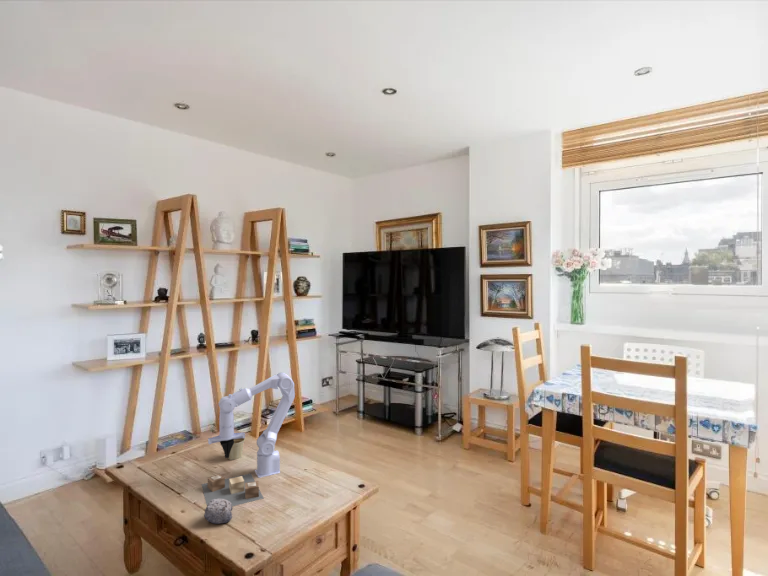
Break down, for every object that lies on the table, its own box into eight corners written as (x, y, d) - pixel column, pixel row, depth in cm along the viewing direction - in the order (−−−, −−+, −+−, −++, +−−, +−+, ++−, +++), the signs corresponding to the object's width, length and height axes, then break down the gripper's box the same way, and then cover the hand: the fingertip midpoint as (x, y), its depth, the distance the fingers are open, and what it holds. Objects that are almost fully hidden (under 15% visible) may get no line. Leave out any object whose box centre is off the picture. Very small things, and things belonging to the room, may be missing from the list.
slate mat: (250, 474, 184) (250, 473, 184) (263, 499, 163) (263, 498, 163) (201, 485, 174) (201, 484, 174) (208, 513, 154) (208, 512, 154)
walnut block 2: (258, 490, 169) (258, 480, 169) (258, 496, 164) (258, 486, 164) (245, 492, 167) (245, 482, 167) (245, 499, 163) (245, 488, 163)
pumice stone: (238, 523, 151) (220, 508, 156) (242, 504, 150) (225, 489, 155) (214, 537, 143) (196, 521, 147) (218, 517, 141) (200, 501, 146)
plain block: (241, 485, 173) (241, 476, 173) (244, 490, 169) (244, 481, 169) (229, 488, 171) (229, 478, 171) (231, 494, 166) (231, 484, 166)
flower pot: (241, 462, 196) (241, 443, 196) (221, 461, 196) (221, 443, 196) (248, 453, 206) (247, 436, 205) (228, 453, 206) (228, 436, 206)
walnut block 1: (219, 483, 175) (219, 473, 175) (224, 487, 172) (224, 477, 171) (207, 487, 172) (207, 477, 172) (212, 491, 168) (212, 481, 168)
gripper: (242, 420, 185) (242, 450, 185) (207, 425, 178) (207, 457, 178) (245, 424, 179) (246, 456, 179) (209, 430, 172) (209, 463, 172)
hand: (226, 457), depth 178 cm, fingers closed
